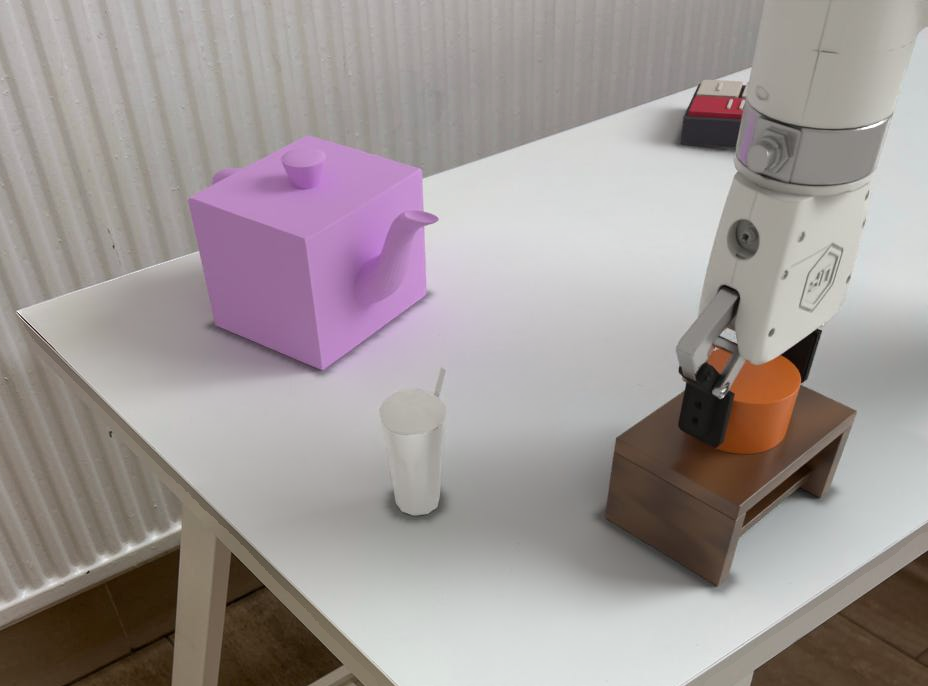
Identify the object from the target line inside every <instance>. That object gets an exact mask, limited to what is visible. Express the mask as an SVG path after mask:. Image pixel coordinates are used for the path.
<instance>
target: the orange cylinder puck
mask: <svg viewBox="0 0 928 686" xmlns="http://www.w3.org/2000/svg"><path fill="white" fill-rule="evenodd" d="M730 356H731V354H729V353H727V352H725V351H723V350H720V349H718V348H716V349H714V351H713V352H712V354H711V356H710V358H709V360H708V364H710V365H712V366H713V367H714V368H715V369H716V370H717V371H718V373H719V374H721V372H722V370H723V369H724V367H725V365H726V363H727V362H728V360H729V358H730ZM800 384H801V385H802V383H801V376H800V373H799V371H798V369H797V368H796V367H795V365H794V364H793V363H792V362H790V361H789V360H788V359H786V358H785V357H783V356H781V355H779V356H778V357H776V358H774V359H773V360H771V361H769V362H767V363H764V364H761V365H754V364H751V363H750V361H748V360H746V362H745V363H744V365H743V367H742V369H741V370H740V372H739V374H738V376H737V377H736V379H735V381H734V383H733V384H732V386H731V388H730V390H729V391H731V392H733V393H735V396H734V400H733V404H732V408H731V413H730V417H729V421H728V425H727V429H726V433H725V438H724V442H723V443H722V444H721V445H720V446H718V447H717V448H715V449H718V450H721V451H725V452H730V453H736V454H753V453H760V452H764V451H767V450H769V449H772V448H774V447H775V446H777V445H778V444H779V443H780V442H781V441H782V440H783V439H784V437H785V435H786V431H787V428H788V425H789V421H790V418H791V415H792V411H793V408H794V405H795V401H796V398H797V395H798V391H799V388H800ZM703 443H704V442H703ZM705 444H706V443H705ZM707 445H708V444H707ZM713 448H714V447H713Z"/></svg>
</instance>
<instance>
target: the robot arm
mask: <svg viewBox="0 0 928 686" xmlns="http://www.w3.org/2000/svg"><path fill="white" fill-rule="evenodd" d="M926 28H928V0H764V1H763V8H762V13H761V17H760V23H759V28H758V34H757V38H756V43H755V48H754V53H753V59H752V63H751V68H750V74H749V79H748V82H749V84H748V89H747V95H746V99H745V104H744V109H743V114H742V119H741V124H740V130H739V135H738V140H737V145H736V148H735V152H734V156H733V165H734V167H735V169H736V172H735V174H734V176H733V178H732V182H731V185H730V187H729V190H728V194H727V196H726V200H725V202H724V206H723V208H722V212H721V216H720V218H719V222H718V226H717V228H716V232H715V236H714V240H713V244H712V247H711V252H710V255H709V258H708V263H707V268H706V272H705V275H704V279H703V285H702V290H701V294H700V299H699V305H698V313H697V318H696V319H695V321H694V322H693V323H692V324H691V325H690V327H689V328H688V329H687V330H686V332H685V333H684V334H683V336H682V337H681V338H680V339H679V340H678V342H677V344H676V348H675V353H676V357H677V360H678V365H679V366H678V374H679V375H680V376H681V380H682V382H684V383H685V386H684V390H685V391H684V390H683V391H684V396H683V401H682V406H681V412H680V417H679V422H678V427H679V429H680V430H681V431H683V432H685V433H687V434H689V435H691V436H692V437H694V438H696V439H698V440H700V441H702V442H704V443H706V444H708V445H709V446H711V447H714V448H717V447H718V446H720V445H721V444H722V443H723V442H724V438H725V433H726V429H727V425H728V421H729V417H730V413H731V408H732V404H733V400H734V396H735V393H733V392H731V391H729V390H730V388H731V386H732V384H733V383H734V381H735V379H736V377H737V376H738V374H739V372H740V370H741V369H742V367H743V365H744V363H745V362H746V360H748V361H750V363H751V364H754V365H761V364H764V363H767V362H769V361H771V360H773V359H774V358H776V357H778V356H779V355H781V356H783V357H785V358H786V359H788V360H789V361H790V362H792V363H793V364H794V365H795V367H796V368H797V369H798V371H799V373H800V376H801V384H804V383H805V382H806V381H807V380H808V379H809V376H810V372H811V369H812V366H813V363H814V359H815V356H816V353H817V349H818V346H819V343H820V339H821V336H822V334H823V330H822V329H820V328H823V327H824V326H825V324H826V323H827V322H828V321H829V320H830V319H832V318H833V317H834V316H835V315H836V314H837V313H838V311H840V309H841V308H842V306H843V305H844V302H845V299H846V296H847V293H848V290H849V286H850V282H851V279H852V276H853V271H854V267H855V264H856V261H857V258H858V253H859V249H860V246H861V242H862V237H863V233H864V229H865V225H866V222H867V221H866V220H867V216H868V212H869V207H870V202H871V197H872V191H873V185H874V180H875V175H876V172H877V169H878V164H879V161H880V159H881V155H882V152H883V149H884V145H885V142H886V139H887V136H888V132H889V129H890V126H891V123H892V119H893V115H894V113H895V110H896V106H897V103H898V100H899V96H900V93H901V91H902V87H903V84H904V82H905V78H906V74H907V71H908V68H909V64H910V61H911V57H912V55H913V52H914V48H915V46H916V45H915V44H916V42H917V38H918V35H919V34H920V32H922V31H923V30H924V29H926ZM727 329H729V330H731V331H733V332H735V338H736V342H735V341H733V340H730V339H728V338H726V337H725V336H722V335H721V334H723V332H725V331H726V330H727ZM716 349H720V350H723V351H725V352H727V353H729V354H731V356H730V358H729V360H728V362H727V363H726V365H725V367H724V369H723V370H722V372H721V374H719V373H718V371H717V370H716V369H715V368H714V367H713V366H712V365H710V364H708V360H709V358H710V356H711V354H712V352H713V351H714V350H716Z"/></svg>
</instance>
